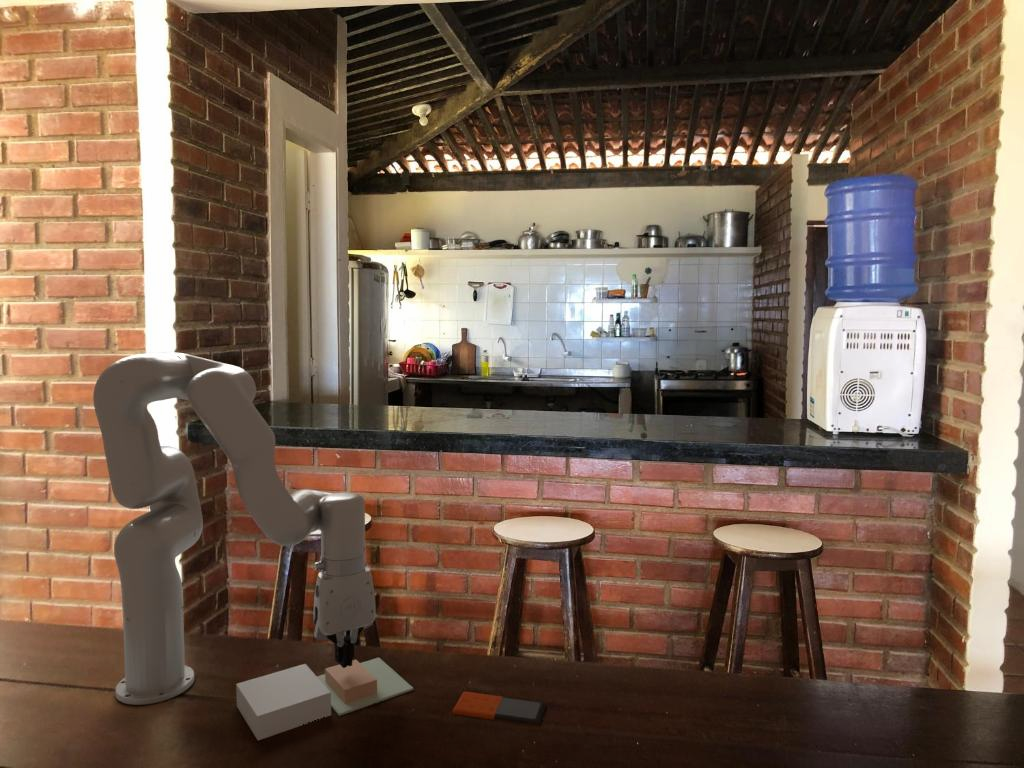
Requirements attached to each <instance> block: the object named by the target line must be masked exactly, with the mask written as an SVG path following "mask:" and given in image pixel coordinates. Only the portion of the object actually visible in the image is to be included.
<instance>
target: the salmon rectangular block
mask: <svg viewBox="0 0 1024 768" xmlns="http://www.w3.org/2000/svg"><path fill="white" fill-rule="evenodd" d="M360 663H361V662H359V661H358V660H357V659H354V660H353V659H352V666H347V667H346V668H343V667H342V666H341V665H340V664H339V663H338V664H337V665H334V666H330V667H329V666H328V667H326V668H324V672H325V673H324V674H325V682H326V683H327V684H328V685H329V687H330V688H331V689H332V690H333V691H334V692H335V693H336V694H337V696H338V697H339V698H340V699H341V700H342V701H343V702H344V703H345V704H347V703H350V702H352V701H355V700H358V699H361V698H364V697H367V696H370V695H373V694H376V693H377V679H376V678H375V677H374V676H373V675H372V674H371V673H370V672H369V671H368V670H367V669H366V668H365V667H363V666H362V665H361V664H360Z"/></svg>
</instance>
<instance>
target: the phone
mask: <svg viewBox="0 0 1024 768" xmlns="http://www.w3.org/2000/svg"><path fill="white" fill-rule="evenodd" d="M545 709H546V704H545V703H544V702H543V701H537V700H529V699H522V698H521V699H520V698H514V697H509V696H499V695H493V694H492V695H491V694H485V693H484V694H483V693H478V692H471V691H464V692H462V694H461V695H460V697H459V699H458V701H457V702H456V704H455V705H454V708H453V709H452V714H453V715H459V716H463V717H464V716H466V717H472V718H477V719H478V718H479V719H485V720H490V721H491V720H492V721H498V722H504V723H505V722H506V723H513V724H520V725H527V726H532V727H538V726H539V725H541V720H542V717H543V715H544V712H545Z"/></svg>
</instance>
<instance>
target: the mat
mask: <svg viewBox="0 0 1024 768" xmlns="http://www.w3.org/2000/svg"><path fill="white" fill-rule="evenodd" d="M359 663H360V664H361V665H362V666H363V667H365V668H366V669H367V670H368V671H369V672H370V673H371V674H372V675H373V676H374V677H375V678H376V679H377V693H376V694H373V695H370V696H367V697H364V698H361V699H358V700H355V701H352V702H350V703H347V704H345V703H344V702H343V701H342V700H341V699H340V698H339V697H338V696H337V694H336V693H335V692H334V691H333V690H332V689H331V688H330V687H329V685H328V684H327V683H326V682H325V673H324V674H321V675H316V676H317V677H318V679H319V680H320V681H321V682H322V683H323V684H324V685H325V686H326V688H327V689H328V690H329V691H330V692H331V709H333V711H334V712H335V713H336V714H337V716H338V717H340V716H343V715H346V714H348V713H352V712H354V711H358V710H360V709H364V708H367V707H368V706H372V705H375V704H378V703H380V701H381V702H383V701H385V700H389V699H392V698H394V697H397V696H400V695H404V694H405V693H409V692H411V691H414V687H413V686H412V685H411V684H409V683H408V682H407V681H406V680H405V679H404V678H403V677H402V676H400V675H399V674H398V673H397V672H396V670H394V669H393V668H392V667H390V666H389V665H388V664H387V663H386V662H385V661H384V660H383V659H381V658H380V657H376V658H372V659H370V660H367V661H362V662H359ZM374 703H375V704H374Z"/></svg>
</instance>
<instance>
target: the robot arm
mask: <svg viewBox="0 0 1024 768" xmlns="http://www.w3.org/2000/svg"><path fill="white" fill-rule="evenodd" d="M256 394H257V386H256V382H255V379H254V378H253V377H252V375H251V374H250V372H248V371H246V370H245V369H244V368H242V367H240V366H236V365H233V364H228V363H224V362H221V361H215V360H213V359H209V358H208V359H207V358H204V357H199V356H196V355H191V354H188V353H183V352H176V351H175V352H173V351H168V352H167V351H165V352H148V353H147V352H145V353H136V354H132V355H128V356H124V357H122V358H120V359H118V360H116V361H114V362H113V363H111V364H109V365H108V366H107V367H106V368H105V369H104V370H103V371H102V372H101V373H100V374H99V376H98V378H97V380H96V382H95V385H94V389H93V393H92V395H93V398H92V399H93V407H94V411H95V417H96V419H97V421H98V425H99V431H100V433H101V439H102V443H103V451H104V454H105V461H106V465H107V471H108V476H109V481H110V486H111V490H112V494H113V496H114V499H115V500H116V501H117V503H118V504H119V505H120V506H122V507H123V508H125V509H129V510H138V509H142V508H146V507H149V510H150V511H148V512H145V513H143V514H142V515H140V516H137V517H136V518H134V519H132V520H131V521H129V522H128V523H127V524H125V525H124V526H123V527H122V529H121V530H119V532H118V534H117V536H116V538H115V542H114V545H113V550H114V551H113V553H114V554H113V555H114V559H115V563H116V568H117V571H118V575H119V581H120V589H121V605H122V606H121V609H122V622H123V623H122V625H123V626H122V629H123V651H124V653H123V654H124V657H123V658H124V675H125V677H123V678H122V679H121V680H120V681H119V682H118V683H117V685H116V686H115V698H116V699H117V700H118V701H119V702H121V703H123V704H127V705H131V706H133V705H134V706H137V705H138V706H139V705H140V706H142V705H151V704H156V703H160V702H163V701H168V700H170V699H172V698H174V697H176V696H179V695H181V694H182V693H184V692H185V691H186V690H188V689H189V688H190V687H191V686H192V685H193V684H194V681H195V679H196V678H195V671H194V669H193V668H191V667H190V666H189V665H186V662H185V657H186V656H185V636H184V635H185V633H184V632H185V629H184V599H183V584H182V579H181V575H180V573H179V570H178V568H177V565H176V558H177V557H178V556H180V555H181V554H182V553H184V552H186V551H187V550H189V548H191V547H193V546H194V545H195V544H196V543H197V542H198V541H199V540H200V537H201V535H202V533H203V528H204V527H203V526H204V519H203V512H202V506H201V501H200V496H199V491H198V484H197V480H196V476H195V470H194V467H193V465H192V462H191V461H190V459H189V458H188V456H187V455H186V454H185V453H184V452H183V451H182V450H180V449H178V448H176V447H172V446H167V445H165V446H164V445H163V446H162V445H161V443H160V438H159V431H158V427H157V424H156V421H155V420H154V418H153V416H152V414H151V413H150V411H149V410H148V406H149V404H151V403H154V402H159V401H165V400H171V399H181V400H186V401H188V402H189V404H190V406H191V408H192V409H193V410H194V412H195V414H196V415H197V417H198V418H199V419H200V421H201V422H202V424H203V425H204V427H206V429H207V431H208V432H209V434H210V435H211V436H212V438H213V439H214V440H215V442H216V443H217V444H218V445H219V447H220V449H221V450H222V452H223V453H224V454H225V456H226V457H227V458H228V460H229V462H230V464H231V467H232V474H233V478H234V482H235V485H236V488H237V492H238V494H239V496H240V499H241V501H242V503H243V505H244V507H245V509H246V511H247V513H249V515H250V517H251V518H252V519H253V520H254V522H255V524H256V525H257V526H258V528H259V529H260V530H261V532H263V534H264V536H266V537H267V538H268V539H269V540H271V541H272V542H273V543H275V544H277V545H280V546H282V547H293V546H296V545H298V544H301V543H302V542H303V541H304V540H305V539H307V537H308V536H309V535H310V534H311V533H314V532H316V531H320V542H321V543H320V544H321V545H320V551H321V553H320V554H321V556H320V557H319V561H317V562H315V563H313V570H314V571H315V572H316V571H320V572H318V575H317V578H316V583H315V589H314V597H313V612H312V613H313V615H312V616H313V625H314V626H315V627H314V632H313V637H314V638H315V639H316V640H318V641H323V640H324V641H326V640H329V641H331V643H333V644H334V660H335V662H336V663H337V664H338V665H339V664H340V665H341V666H342V667H343V668H346V667H347V666H352V661H353V659H354V658H355V643H357V640H358V638H359V637H358V636H360V635H361V634H362V632H363V631H364V630H365V629H368V628H370V627H371V626H373V625H374V621H375V620H376V598H375V597H376V596H375V589H374V584H373V583H374V582H373V581H374V580H373V576H372V572H371V569H370V567H369V566H366V508H365V507H366V504H365V503H366V502H365V500H364V498H363V495H360V494H359V493H355V492H347V491H346V492H345V491H344V492H333V493H332V492H326V491H321V490H317V489H316V490H315V489H307V488H306V489H299V490H296V491H294V492H292V493H290V492H289V491H288V489H287V488H286V486H285V485H284V484H283V482H282V480H281V478H280V475H279V473H278V472H277V467H276V463H275V449H276V436H275V433H274V430H273V429H272V428H271V427H270V426H269V424H268V423H267V422H266V420H265V419H264V417H263V416H262V415H261V413H260V411H258V409H257V408H256V405H254V403H253V402H254V399H255V398H256Z"/></svg>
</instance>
